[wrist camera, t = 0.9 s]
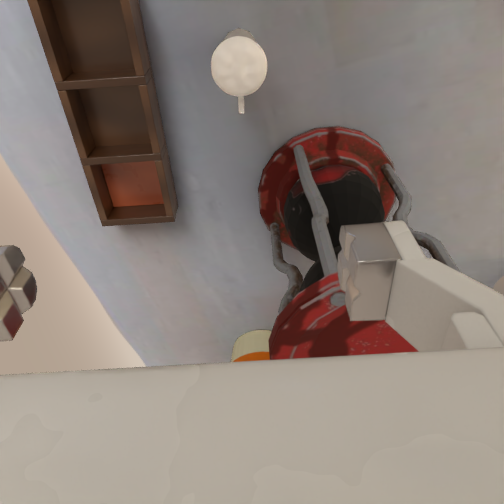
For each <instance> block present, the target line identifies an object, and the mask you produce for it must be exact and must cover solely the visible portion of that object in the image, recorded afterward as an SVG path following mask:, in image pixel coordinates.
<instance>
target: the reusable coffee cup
mask: <svg viewBox="0 0 504 504" xmlns="http://www.w3.org/2000/svg"><path fill="white" fill-rule="evenodd" d="M271 332H272V331H269V330H255V331H250V332H248V333H245V334H243V335H242V336H240V337H239V338H238V339H237V340H236V342H235V344H234V346H233V352H232V358H231V362H242V361H260V360H270V356H269V342H268V340H269V337H270V334H271Z"/></svg>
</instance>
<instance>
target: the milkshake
mask: <svg viewBox="0 0 504 504" xmlns="http://www.w3.org/2000/svg"><path fill="white" fill-rule="evenodd" d="M211 72H212V77H213V79H214V81H215V83H216V84H217V85H218V86H219V87H220V89H221V90H222V91H224V92H225V93H227V94H229V95H232V96H238V108H239V114H244V96H246V95H249V94H252V93H254V92H255V91H256V90H257V89H258V88H259V87H260V86H261V85H262V83H263V82H264V80H265V77H266V73H267V59H266V56H265V53H264V51H263V49H262V48H261V47H260V46H259V44H258V43H257V42H256V40H255V39H254V37H253V36H252V35H251V33H250V32H249V31H247V30H244V29H241V28H237V29H234V30H232V31H230V32H228V33H227V35H226V37H225V38H224V40H223V41H222V42H221V43H220V44H219V45H218V47H217V48H216V49H215V51H214V53H213V55H212V59H211Z"/></svg>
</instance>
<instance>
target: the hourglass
mask: <svg viewBox="0 0 504 504" xmlns="http://www.w3.org/2000/svg"><path fill="white" fill-rule="evenodd" d="M258 195H259V206H260V214H261V216H262V218H263V220H264V222H265V224H266V226H267V228H268V230H269V231H270V232H271V242H272V252H273V262H274V265H275V267H276V268H277V269H278V270H279V271H281V272H283V273H286V274H287V276H288V278H289V287H288V290H287V292H286V294H285V295H284V297H283V298H282V300H281V303H280V307H279V311H278V313H279V315H278V316H277V318H276V321H275V324H274V326H273V329H272V332H271V334H270V337H269V340H268V342H269V356H270V360H278V359H296V358H315V357H333V356H351V355H367V354H385V353H403V352H419V351H418V350H417V349H415V348H414V347H413V346H412V345H411V344H410V343H409V342H408V341H407V340H405V339H404V338H403V337H402V336H401V335H400V334H399V333H398V332H396V331H395V330H394V329H393V328H392V327H391V326H390V325H389V324H388V323H386V322H385V320H370V321H350V318H349V315H348V312H347V308H346V305H345V292H344V291H342V290H341V288H340V284H339V279H338V268H337V262H338V253H339V252H340V251H341V250H342V247H341V244H340V241H339V234H340V228H341V226H344V225H356V224H368V223H380V222H384V221H385V220H386V219H387V217H388V215H389V213H390V211H391V209H392V207H393V205H394V203H395V198H396V197H397V198H398V200H399V207H398V209H397V211H396V212H395V214H394V216H393V221H398V220H402V221H404V222H405V223H406V225H407V226H408V223H407V216H408V214H409V212H410V210H411V196H410V194H409V193H408V191H407V190H406V188H405V187H404V185H403V184H402V182H401V181H400V179H399V177H398V176H397V174H396V173H395V169H394V165H393V163H392V161H391V160H390V158H389V157H388V155H387V154H386V153H385V151H384V150H383V148H382V147H381V146H380V144H379V143H378V142H377V141H375V140H374V139H372V138H371V137H369V136H367V135H366V134H364V133H363V132H361V131H358V130H354V129H349V128H345V127H340V126H335V127H324V128H315V129H312V130H310V131H307V132H305V133H303V134H300V135H298V136H295V137H293V138H292V139H290V140H289V141H288V142H287V143H285V144H284V145H283V146H282V147H281V148H279V149H278V150H277V151H276V152H275V153H274V154H273V156H272V157H271V159H270V160H269V162H268V163H267V165H266V166H265V168H264V169H263V172H262V176H261V180H260V184H259V187H258ZM408 228H409V230H410V231H411V233H412V235H413V236H414V238H415V240H416V241H417V243H418V245H420V246H422V247H424V248H426V249H428V250H429V252H430V254H431V255H432V257H433V258H434V259H435V260H437V261H439V262H441V263H443V264H445V265H447V266H449V267H451V268H453V269H455V270H456V271H458V272H460V270H459V269H458V267H457V266H456V264H455V263H454V261H453V260H452V258H451V257H450V255H449V254H448V252H447V251H446V249H445V247H444V246H443V244H442V243H441V242H440V241H439V240H437V239H436V238H434V237H432V236H430V235H429V234H427V233H422V232H416V231H413V230H412V229H411V228H410V227H409V226H408ZM281 242H282V243H284V244H286V245H289V246H291V247H293V248H295V249H297V250H299V251H300V252H301V253H302V254H303V255H305V256H306V257H307V258H309V259H311V260H313V261H315V263H314V264H313V266H312V267H311V268H310V269H309V271H308V273H307V274H306V276H305V278H304V281H303V276H302V274H301V273H300V271H299V270H298V268H297V267H296V266H294V265H291V264H288V263H286V262H285V261H284V260H283V254H282V246H281ZM460 273H461V272H460ZM302 282H303V283H302Z"/></svg>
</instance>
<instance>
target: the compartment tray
mask: <svg viewBox="0 0 504 504" xmlns="http://www.w3.org/2000/svg"><path fill="white" fill-rule="evenodd" d="M27 1H28V4H29V7H30V10H31V13H32V16H33V19H34V22H35V25H36V28H37V31H38V34H39V37H40V40H41V43H42V46H43V49H44V52H45V55H46V58H47V61H48V64H49V67H50V70H51V73H52V76H53V79H54V82H55V84H56V87H57V90H58V93H59V96H60V100H61V103H62V106H63V109H64V112H65V115H66V118H67V121H68V124H69V127H70V130H71V133H72V136H73V139H74V142H75V145H76V148H77V151H78V154H79V157H80V160H81V163H82V165H83V169H84V172H85V175H86V178H87V181H88V184H89V187H90V190H91V193H92V196H93V199H94V202H95V205H96V208H97V211H98V214H99V217H100V220H101V223H102V226H114V225H130V224H146V223H162V222H175V218H176V213H177V209H178V202H177V197H176V192H175V187H174V182H173V177H172V171H171V166H170V161H169V156H168V151H167V146H166V140H165V135H164V130H163V125H162V120H161V115H160V109H159V104H158V99H157V94H156V89H155V84H154V78H153V73H152V68H151V63H150V58H149V53H148V47H147V42H146V37H145V32H144V27H143V22H142V16H141V11H140V6H139V1H138V0H27Z"/></svg>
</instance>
